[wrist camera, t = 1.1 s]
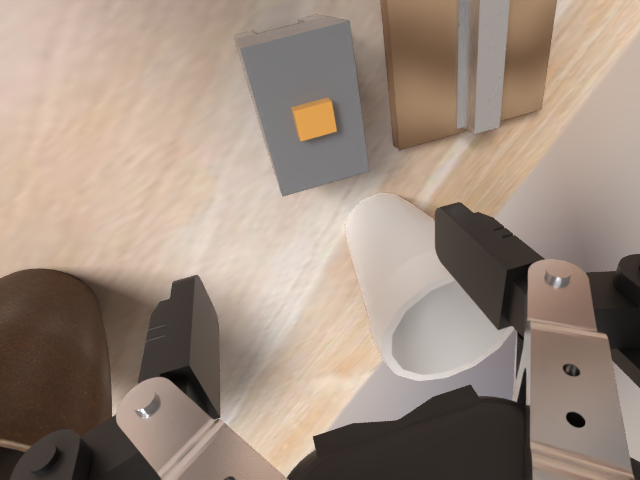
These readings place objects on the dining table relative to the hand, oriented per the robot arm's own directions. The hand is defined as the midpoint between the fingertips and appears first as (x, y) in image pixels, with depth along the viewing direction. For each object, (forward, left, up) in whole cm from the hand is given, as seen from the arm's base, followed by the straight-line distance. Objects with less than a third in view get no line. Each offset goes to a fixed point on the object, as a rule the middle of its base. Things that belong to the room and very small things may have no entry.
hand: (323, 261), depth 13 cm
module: (-2, +2, -17) cm, 18 cm away
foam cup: (+11, +7, -18) cm, 22 cm away
